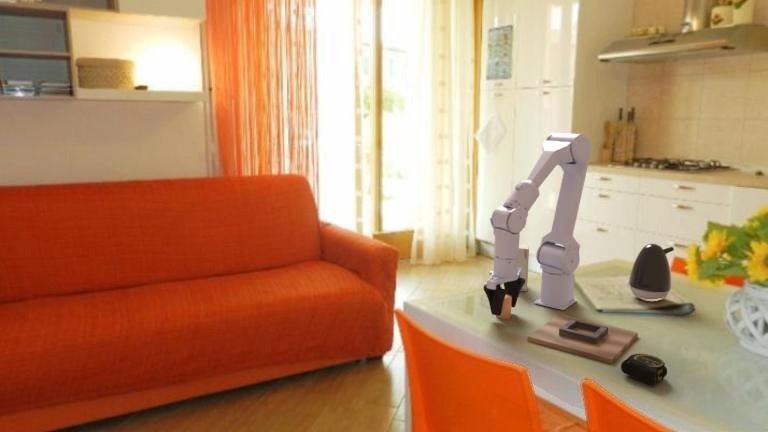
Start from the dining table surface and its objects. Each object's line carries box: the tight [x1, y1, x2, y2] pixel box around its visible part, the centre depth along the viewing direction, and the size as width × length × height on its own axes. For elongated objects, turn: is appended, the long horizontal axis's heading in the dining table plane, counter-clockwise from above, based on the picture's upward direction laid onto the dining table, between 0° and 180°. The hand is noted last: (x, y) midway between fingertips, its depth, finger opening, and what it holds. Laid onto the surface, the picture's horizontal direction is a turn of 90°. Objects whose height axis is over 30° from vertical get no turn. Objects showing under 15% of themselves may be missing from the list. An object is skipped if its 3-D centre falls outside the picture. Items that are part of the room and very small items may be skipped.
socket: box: [526, 313, 639, 365], centre depth 125 cm, size 18×18×2 cm
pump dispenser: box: [628, 243, 675, 299], centre depth 150 cm, size 10×10×15 cm
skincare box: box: [518, 243, 530, 292], centre depth 159 cm, size 6×4×12 cm
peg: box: [495, 295, 512, 320], centre depth 138 cm, size 4×4×5 cm
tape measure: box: [620, 353, 668, 386], centre depth 107 cm, size 7×7×4 cm
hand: (503, 310), depth 138 cm, fingers open, 7 cm apart
